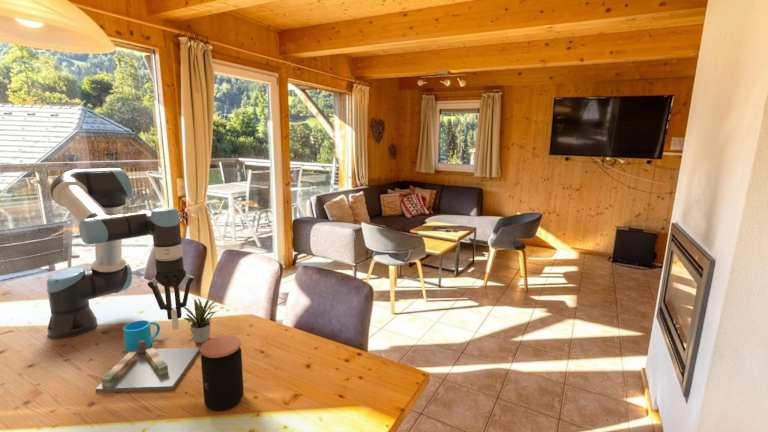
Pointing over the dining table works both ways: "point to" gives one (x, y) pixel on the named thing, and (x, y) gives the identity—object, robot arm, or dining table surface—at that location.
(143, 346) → the tongs base
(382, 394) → the dining table surface
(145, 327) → the mug
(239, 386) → the coffee jar
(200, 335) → the house plant
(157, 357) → the bar
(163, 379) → the board
